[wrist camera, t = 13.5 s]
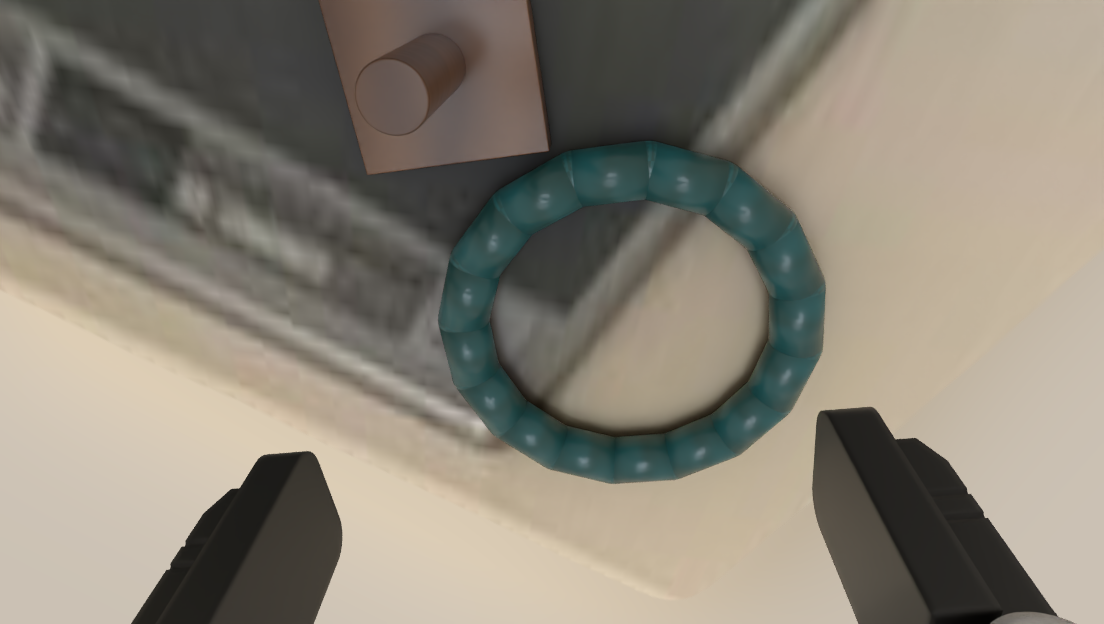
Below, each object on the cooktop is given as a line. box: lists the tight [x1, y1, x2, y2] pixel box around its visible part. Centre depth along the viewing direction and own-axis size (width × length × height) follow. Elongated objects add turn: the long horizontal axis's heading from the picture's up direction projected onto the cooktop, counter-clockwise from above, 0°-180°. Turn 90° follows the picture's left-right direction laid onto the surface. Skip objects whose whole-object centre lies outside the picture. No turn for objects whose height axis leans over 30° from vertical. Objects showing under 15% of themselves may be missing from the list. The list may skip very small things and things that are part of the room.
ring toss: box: [319, 0, 551, 175], centre depth 25 cm, size 8×8×8 cm
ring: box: [438, 141, 826, 484], centre depth 32 cm, size 18×18×2 cm
